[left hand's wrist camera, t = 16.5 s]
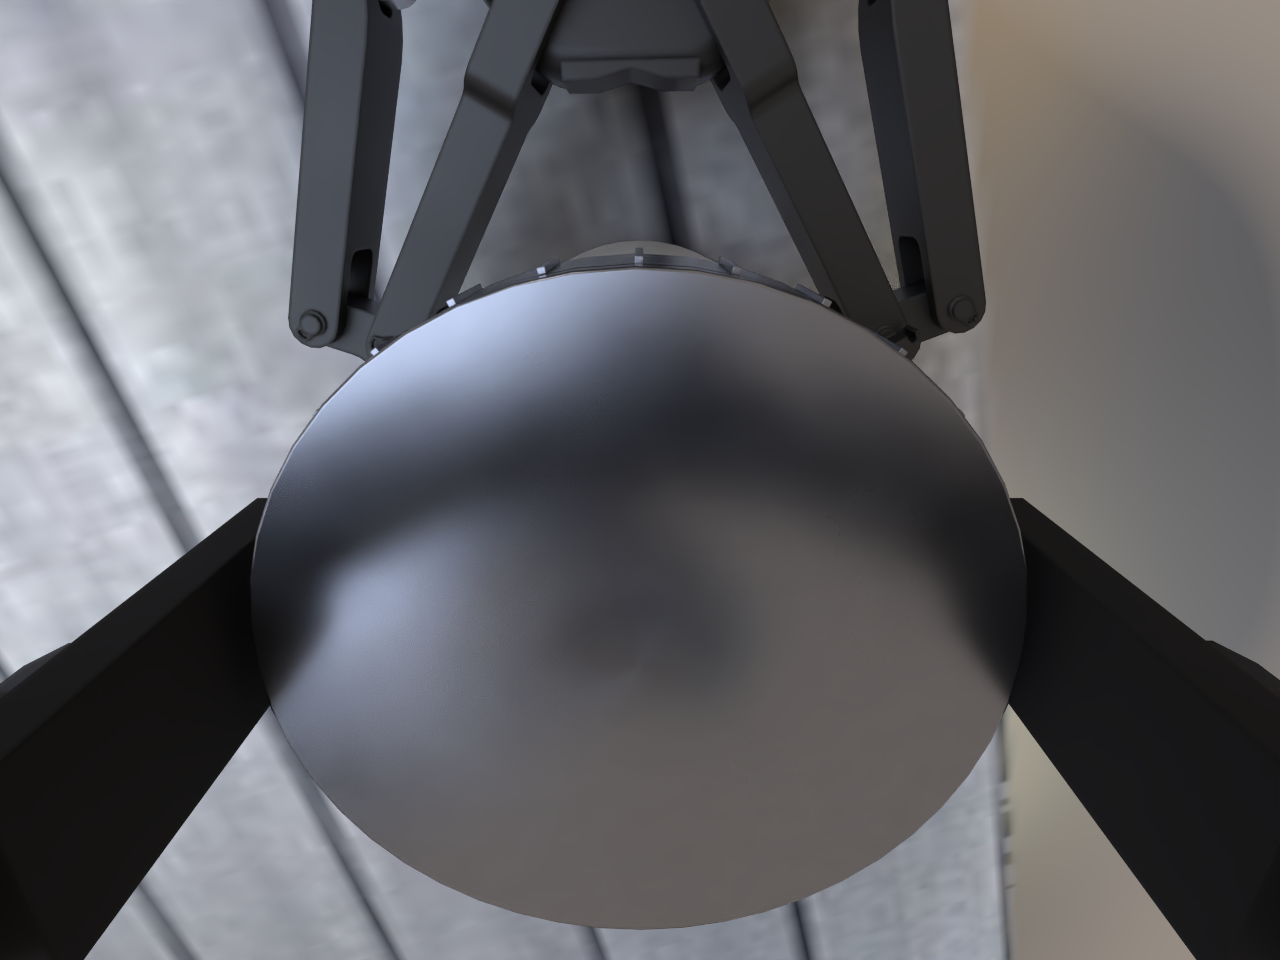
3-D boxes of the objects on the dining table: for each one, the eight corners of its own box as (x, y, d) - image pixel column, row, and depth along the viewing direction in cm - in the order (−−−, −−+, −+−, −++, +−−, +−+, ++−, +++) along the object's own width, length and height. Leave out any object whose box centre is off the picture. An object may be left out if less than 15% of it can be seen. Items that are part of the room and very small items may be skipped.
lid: (922, 148, 10) (1000, 134, 8) (993, 761, 14) (1057, 862, 12) (190, 363, 11) (82, 402, 9) (453, 873, 15) (424, 983, 13)
